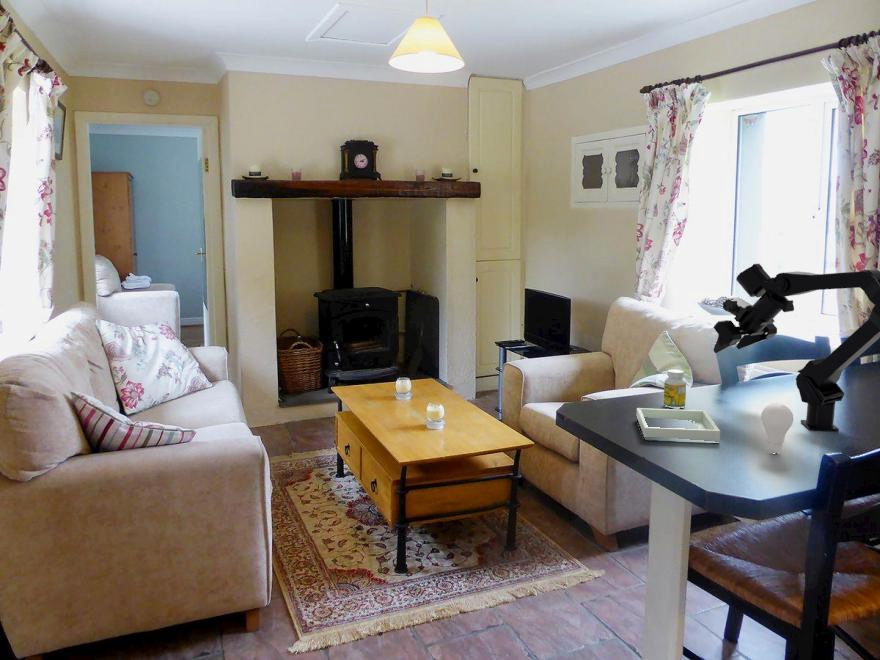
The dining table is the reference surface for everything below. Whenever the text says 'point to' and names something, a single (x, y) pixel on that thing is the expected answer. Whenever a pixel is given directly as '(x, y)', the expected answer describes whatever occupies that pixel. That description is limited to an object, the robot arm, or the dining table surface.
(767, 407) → the lightbulb
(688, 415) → the bin
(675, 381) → the supplement bottle
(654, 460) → the dining table surface
